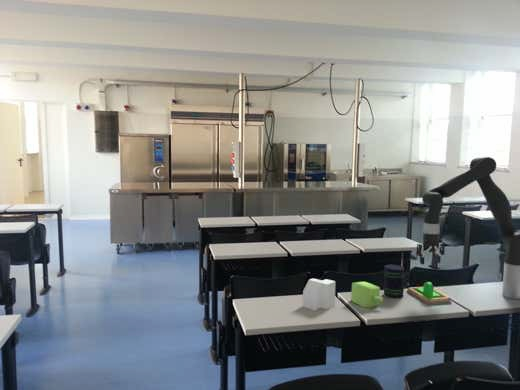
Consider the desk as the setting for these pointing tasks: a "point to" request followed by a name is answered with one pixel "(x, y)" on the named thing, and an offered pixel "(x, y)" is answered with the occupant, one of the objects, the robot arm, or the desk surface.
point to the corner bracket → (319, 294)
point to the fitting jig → (429, 301)
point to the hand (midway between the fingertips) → (430, 263)
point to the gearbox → (365, 294)
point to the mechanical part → (428, 291)
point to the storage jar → (393, 281)
